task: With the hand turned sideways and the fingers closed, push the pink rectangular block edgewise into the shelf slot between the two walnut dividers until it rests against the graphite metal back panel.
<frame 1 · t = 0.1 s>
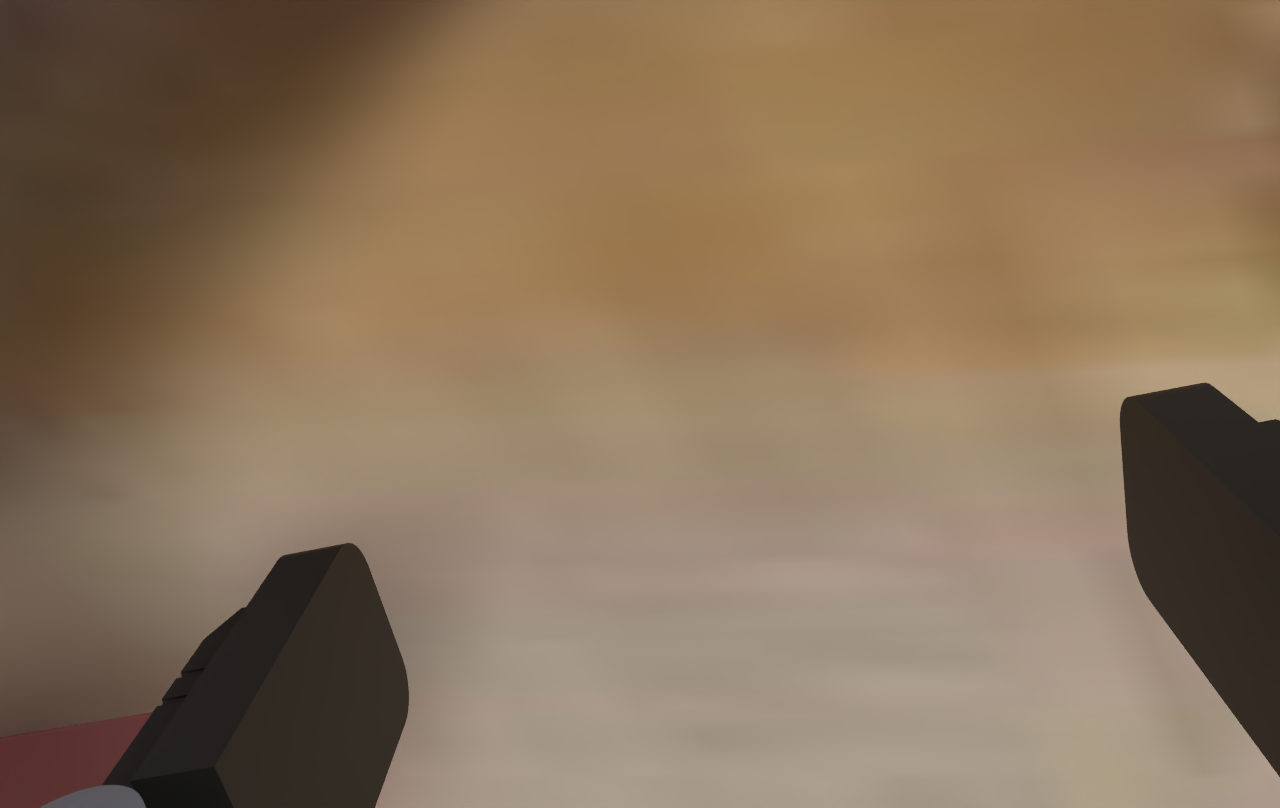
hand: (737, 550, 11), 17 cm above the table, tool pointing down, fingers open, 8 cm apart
pink rectangular block: (123, 789, 37), on the table
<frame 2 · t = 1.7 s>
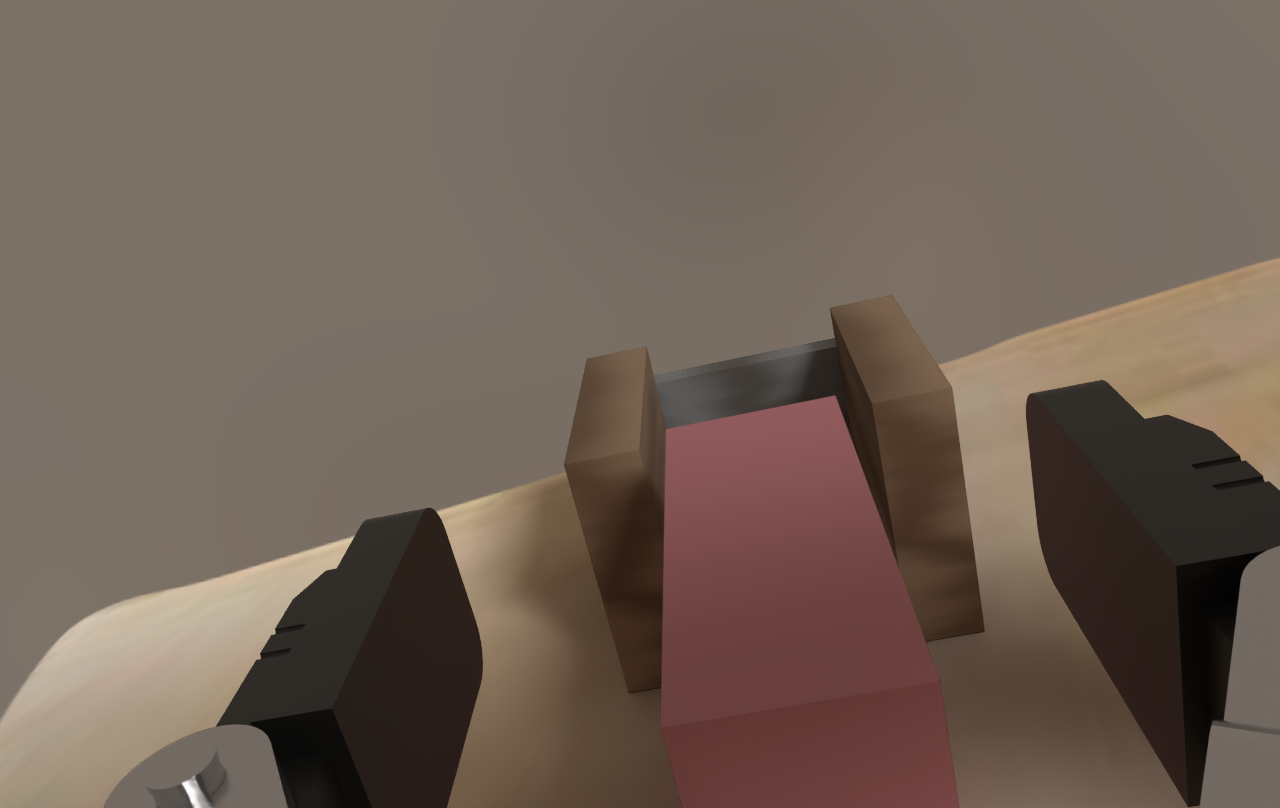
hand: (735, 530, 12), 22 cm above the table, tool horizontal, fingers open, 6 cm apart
shelf slot: (789, 585, 51), on the table
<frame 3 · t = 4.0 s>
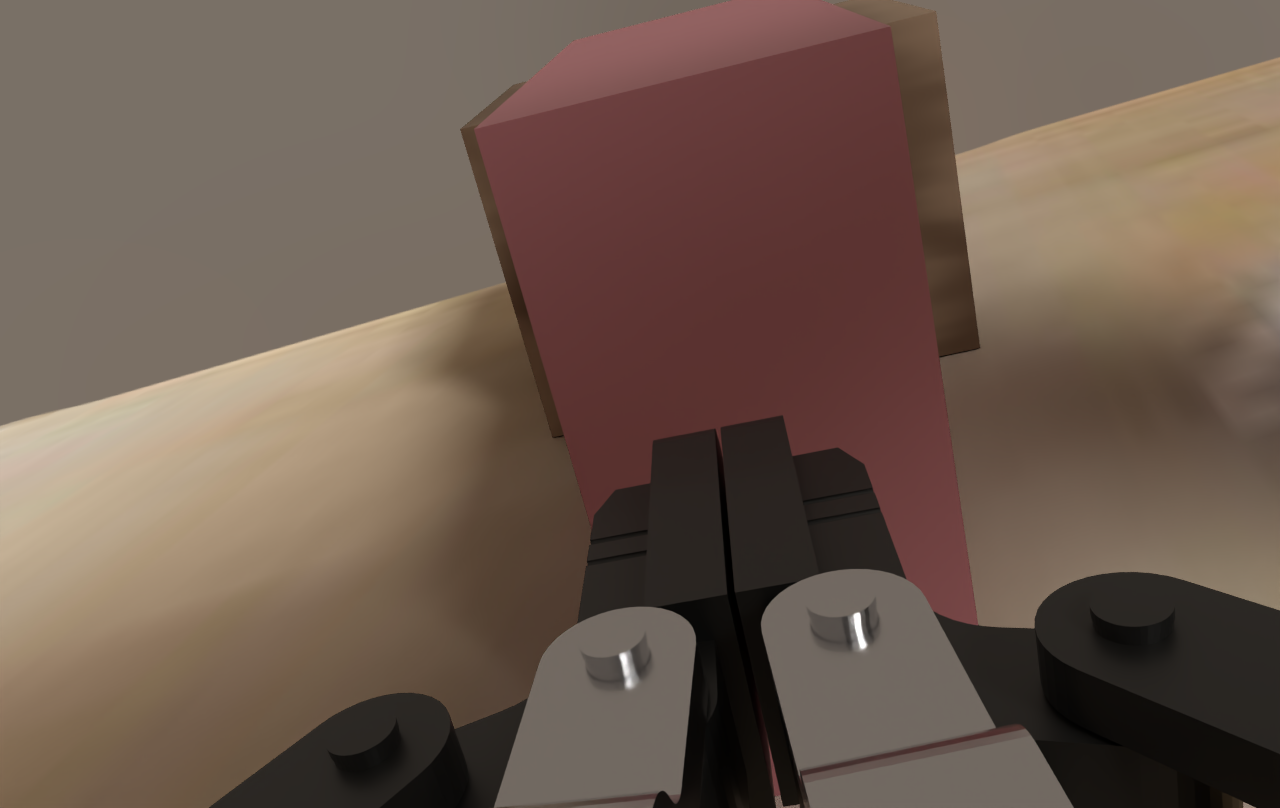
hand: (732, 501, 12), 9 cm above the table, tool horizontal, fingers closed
pink rectangular block: (792, 562, 27), on the table
shelf slot: (750, 336, 43), on the table
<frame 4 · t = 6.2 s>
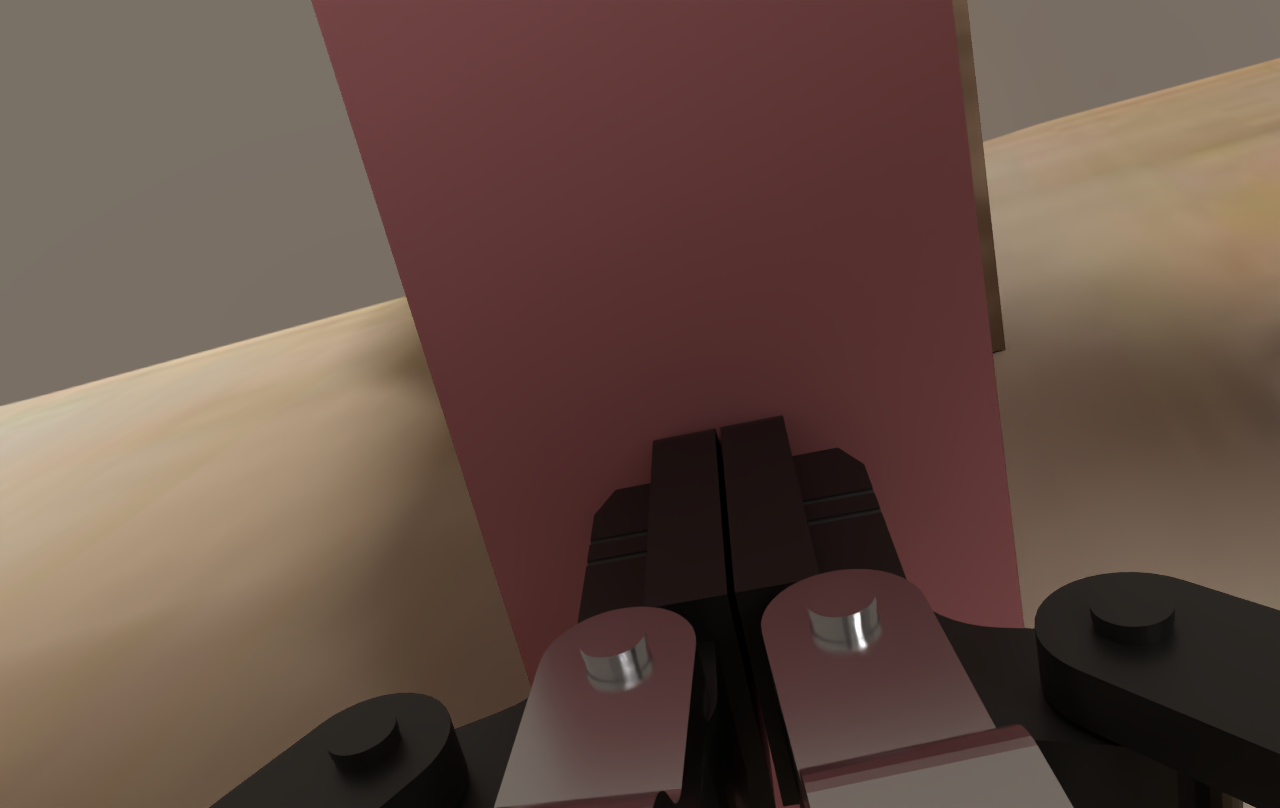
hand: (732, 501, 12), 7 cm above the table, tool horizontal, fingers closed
pink rectangular block: (781, 604, 22), on the table, touching gripper
shelf slot: (740, 335, 38), on the table
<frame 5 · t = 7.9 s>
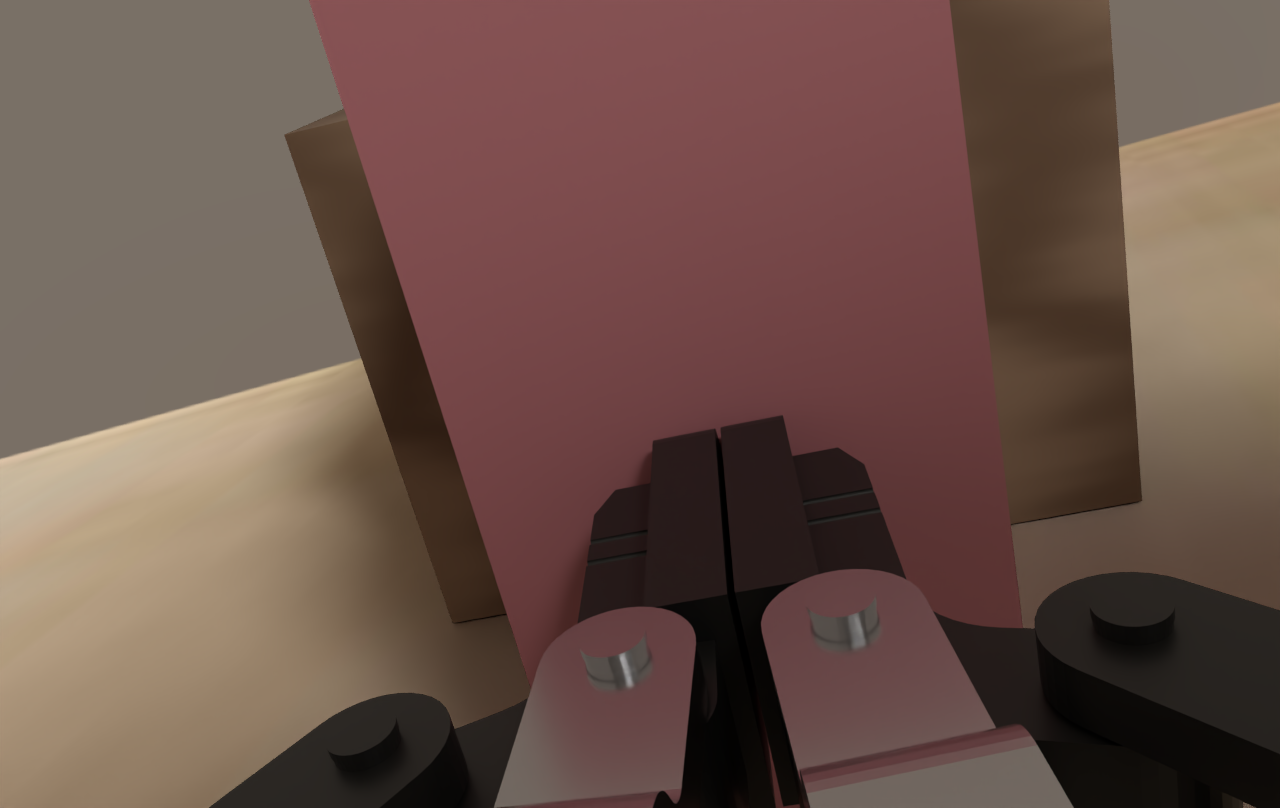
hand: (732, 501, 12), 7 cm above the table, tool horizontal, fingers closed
pink rectangular block: (779, 600, 22), on the table, touching gripper
shelf slot: (765, 448, 29), on the table
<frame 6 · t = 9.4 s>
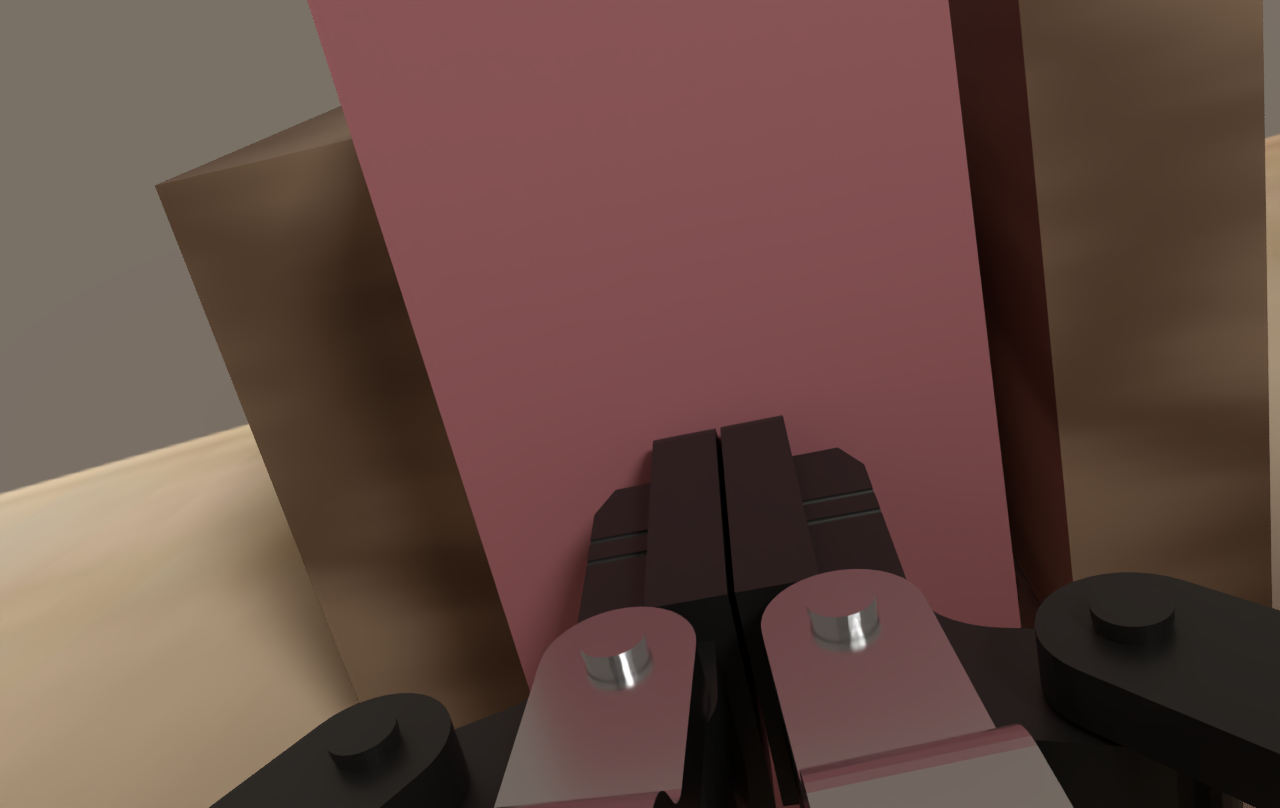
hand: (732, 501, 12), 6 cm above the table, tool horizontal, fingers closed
pink rectangular block: (780, 597, 22), on the table, touching gripper, shelf slot
shelf slot: (782, 546, 24), on the table
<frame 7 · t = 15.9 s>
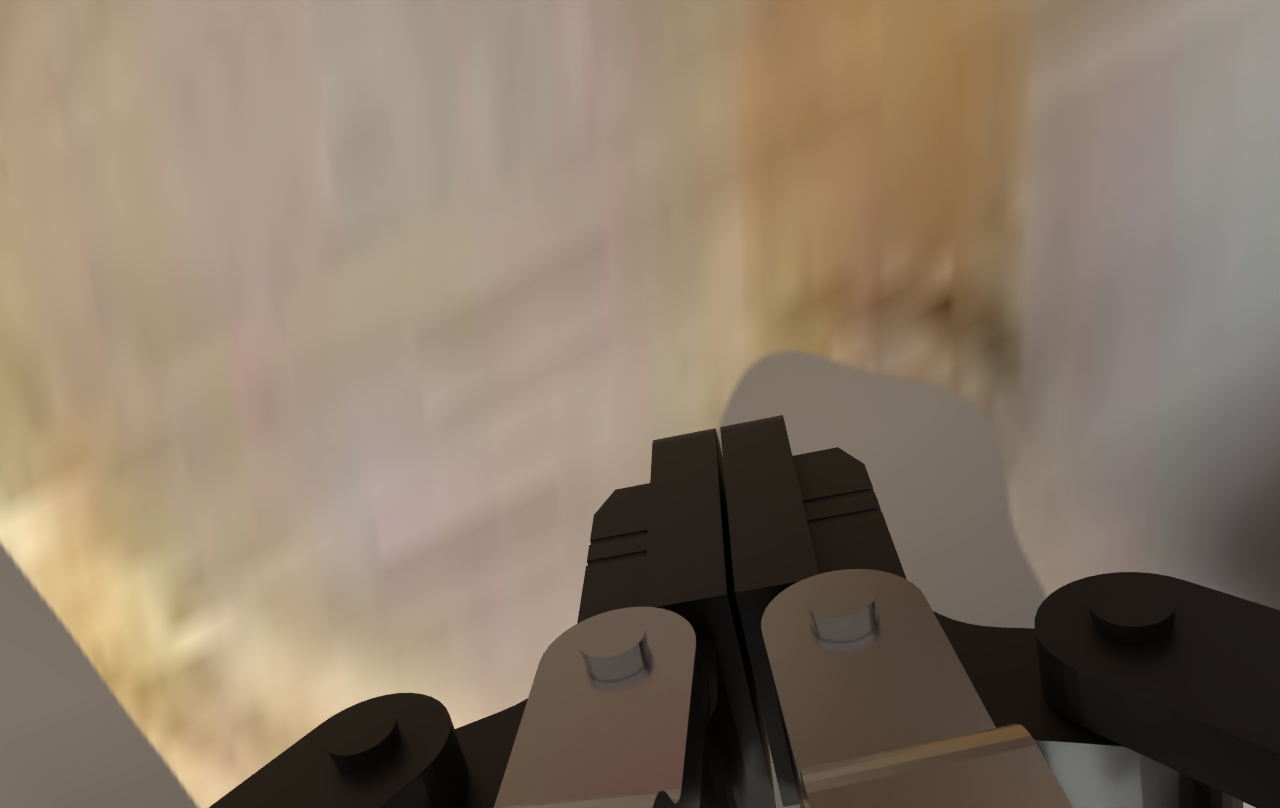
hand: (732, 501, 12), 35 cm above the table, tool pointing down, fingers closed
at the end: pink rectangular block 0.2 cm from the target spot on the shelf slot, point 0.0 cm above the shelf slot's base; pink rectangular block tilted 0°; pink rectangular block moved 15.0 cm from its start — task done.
